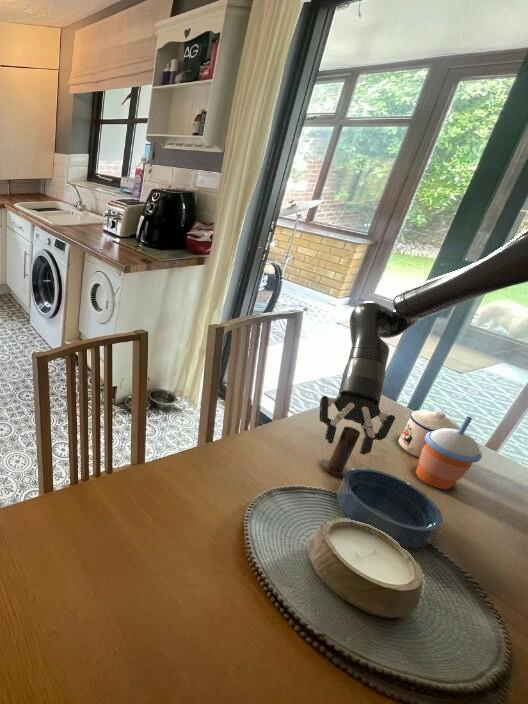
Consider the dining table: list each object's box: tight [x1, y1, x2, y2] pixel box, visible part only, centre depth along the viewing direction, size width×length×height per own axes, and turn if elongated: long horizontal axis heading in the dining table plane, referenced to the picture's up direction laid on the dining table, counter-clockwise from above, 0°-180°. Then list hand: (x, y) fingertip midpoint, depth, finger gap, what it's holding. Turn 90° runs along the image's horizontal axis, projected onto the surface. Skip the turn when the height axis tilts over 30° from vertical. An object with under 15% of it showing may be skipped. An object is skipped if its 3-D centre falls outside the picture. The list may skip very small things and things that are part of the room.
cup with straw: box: [415, 416, 483, 490], centre depth 92 cm, size 9×9×18 cm
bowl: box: [336, 468, 444, 548], centre depth 86 cm, size 16×16×6 cm
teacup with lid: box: [398, 409, 461, 458], centre depth 101 cm, size 12×9×12 cm
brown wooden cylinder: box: [322, 426, 361, 478], centre depth 96 cm, size 4×4×12 cm
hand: (346, 447), depth 94 cm, fingers open, 5 cm apart
